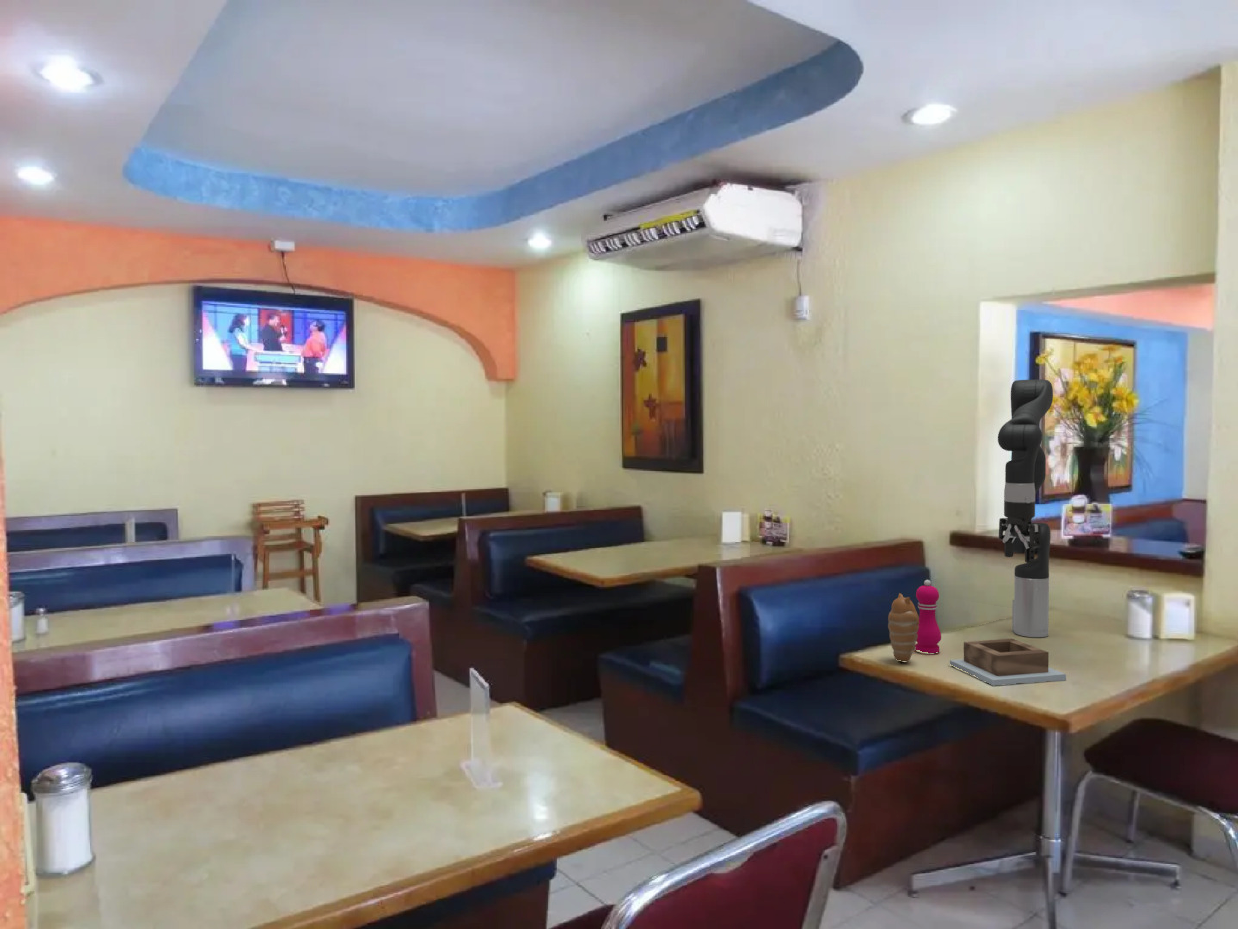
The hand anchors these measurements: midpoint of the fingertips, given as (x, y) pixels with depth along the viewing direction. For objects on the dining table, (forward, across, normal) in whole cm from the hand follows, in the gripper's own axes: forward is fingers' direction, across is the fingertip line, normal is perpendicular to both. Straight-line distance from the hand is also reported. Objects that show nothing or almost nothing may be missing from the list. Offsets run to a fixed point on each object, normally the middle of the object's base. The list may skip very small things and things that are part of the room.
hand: (1019, 559), depth 232 cm
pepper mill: (+26, -10, -21) cm, 35 cm away
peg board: (+26, +13, -13) cm, 32 cm away
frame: (+24, +13, -13) cm, 30 cm away
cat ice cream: (+26, -2, -33) cm, 42 cm away
